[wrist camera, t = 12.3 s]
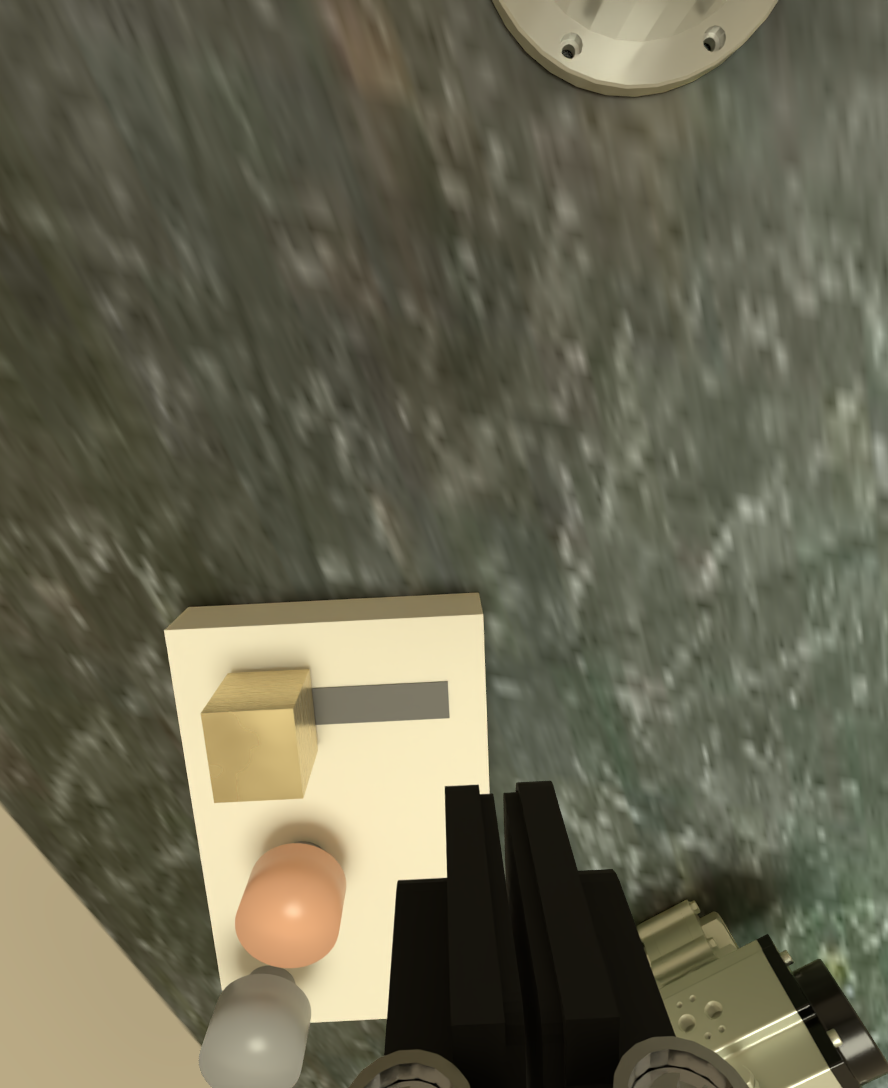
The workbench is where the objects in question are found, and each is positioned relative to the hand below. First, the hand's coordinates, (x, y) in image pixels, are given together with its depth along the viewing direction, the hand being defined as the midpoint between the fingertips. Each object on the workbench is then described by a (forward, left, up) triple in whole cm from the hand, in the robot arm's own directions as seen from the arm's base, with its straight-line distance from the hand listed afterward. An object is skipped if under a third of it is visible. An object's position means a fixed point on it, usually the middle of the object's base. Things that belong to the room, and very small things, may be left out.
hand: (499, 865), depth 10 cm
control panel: (+6, +14, -22) cm, 27 cm away
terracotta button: (+8, +15, -19) cm, 25 cm away
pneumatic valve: (-11, +23, -22) cm, 34 cm away
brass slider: (+8, +7, -19) cm, 22 cm away
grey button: (+10, +21, -18) cm, 29 cm away
